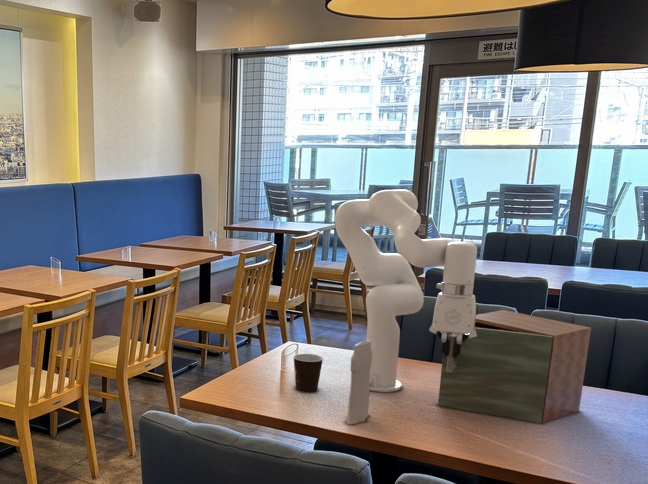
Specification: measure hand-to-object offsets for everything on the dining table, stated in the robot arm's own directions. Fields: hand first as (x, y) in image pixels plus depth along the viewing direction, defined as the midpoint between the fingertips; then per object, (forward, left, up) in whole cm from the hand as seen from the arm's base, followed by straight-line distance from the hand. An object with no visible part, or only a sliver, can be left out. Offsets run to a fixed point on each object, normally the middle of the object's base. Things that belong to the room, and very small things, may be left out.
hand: (450, 355), depth 194 cm
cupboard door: (+8, -7, -17) cm, 20 cm away
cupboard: (+26, -4, -17) cm, 31 cm away
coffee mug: (-16, +37, -17) cm, 44 cm away
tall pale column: (-23, +10, -17) cm, 30 cm away
